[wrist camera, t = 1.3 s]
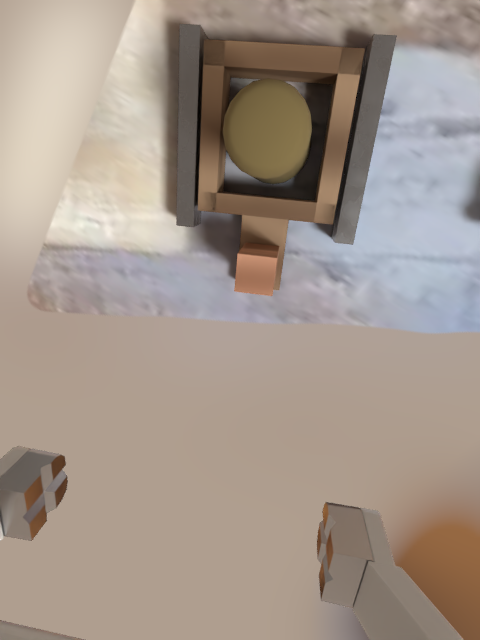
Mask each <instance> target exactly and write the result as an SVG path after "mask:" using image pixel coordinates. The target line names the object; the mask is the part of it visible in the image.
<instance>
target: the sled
mask: <svg viewBox="0 0 480 640" xmlns="http://www.w3.org/2000/svg"><path fill="white" fill-rule="evenodd" d="M364 51H365V48H349V47H332V46H314V45H297V44H279V43H262V42H245V41H227V40H210V39H204V59H203V86H202V112H201V138H200V164H199V191H198V210H199V211H209V212H218V213H228V214H237V215H242V225H241V237H240V248H239V252H238V254H237V266H236V278H235V290H234V291H236V292H244V293H252V294H260V295H268V296H272V294H273V290H279V288H280V280H281V273H282V265H283V258H284V251H285V243H286V236H287V228H288V221H289V220H295V221H304V222H314V223H324V224H333V221H334V215H335V210H336V204H337V199H338V193H339V188H340V182H341V177H342V172H343V166H344V161H345V155H346V150H347V144H348V139H349V133H350V128H351V122H352V117H353V111H354V106H355V100H356V95H357V89H358V84H359V79H360V73H361V68H362V62H363V57H364ZM231 77H232V78H247V79H261V80H262V79H266V78H270V79H277V80H282V81H291V82H306V83H321V84H333V89H332V95H331V102H330V108H329V114H328V121H327V127H326V133H325V139H324V146H323V152H322V158H321V164H320V171H319V177H318V183H317V190H316V196H315V201H314V200H304V199H294V198H283V197H273V196H263V195H253V194H243V193H233V192H223V190H224V175H225V159H226V148H225V143H224V136H223V126H224V117H225V114H226V112H227V110H228V107H229V96H230V81H231Z"/></svg>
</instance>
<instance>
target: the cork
mask: <svg viewBox="0 0 480 640" xmlns="http://www.w3.org/2000/svg"><path fill="white" fill-rule="evenodd" d="M311 132H312V124H311V114H310V111H309V108H308V106H307V103H306V101H305V99H304V98H303V96H302V95H301V94H300V93H299V92H298V91H297V89H296V88H295V87H293V86H291V85H290V84H288V83H286V82H284V81H282V80H277V79H270V78H266V79H262V80H258V81H253V82H252V83H250V84H249V85H247V86H245V87H244V88H242V89H241V90H240V91H239V92H238V93H237V95H236V96H235V97H234V98H233V100H232V101H231V102H230V105H229V107H228V110H227V112H226V114H225V117H224V126H223V136H224V143H225V148H226V150H227V152H228V154H229V156H230V158H231V160H232V161H233V162H234V163H235V165H236V166H237V167H238V168H239V169H240V170H241V171H243V172H245V173H247V174H248V175H250V176H252V177H254V178H255V179H257V180H259V181H261V182H263V183H269V184H277V183H283V182H286V181H287V180H289V179H291V178H293V177H295V176H296V175H297V174H298V173H299V172H300V170H301V169H302V168H303V167H304V165H305V163H306V161H307V159H308V157H309V153H310V148H311Z"/></svg>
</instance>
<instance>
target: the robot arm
mask: <svg viewBox="0 0 480 640" xmlns="http://www.w3.org/2000/svg"><path fill="white" fill-rule="evenodd" d="M65 465H66V462H65V456H63V455H60V454H55V453H51V452H46V451H41V450H36V449H30V448H25V447H21V446H17V447H14V448H12V449H11V450H10V451H9V452H8V453H7V454H6V455H4V456H3V457H2V458H1V459H0V540H1V539H3V538H4V536H6V537H12V538H18V539H23V540H29V541H32V540H33V539H34V537H35V536H36V535H37V533H38V532H39V530H40V529H41V528H42V527H43V525H44V524H45V523H46V521H47V513H48V512H50V511H52V510H54V509H55V508H57V506H58V505H59V504H60V502H61V500H62V499H63V497H64V494H65V492H66V490H67V483H68V480H67V475H66V474H65V472H64V471H63V470H62V469H63V468H64V466H65ZM322 513H323V521H322V522H320V524H319V529H318V536H317V557H318V560H319V562H320V563H321V568H320V572H319V583H320V595H321V601H325V602H329V603H333V604H338V605H342V606H346V607H350V608H353V611H354V613H355V615H356V616H357V618H358V620H359V622H360V624H361V625H362V627H363V629H364V631H365V632H366V634H367V636H368V638H369V639H370V640H464V639H463V638H462V637H461V636H460V635H459V634H458V633H457V631H456V630H455V629H454V628H453V627H452V626H451V625H450V623H449V622H448V621H447V620H446V619H445V618H444V616H443V615H442V614H441V613H440V612H439V611H438V609H437V608H436V607H435V606H434V605H433V604H432V603H431V601H430V600H429V599H428V598H427V597H426V596H425V594H424V593H423V592H422V591H421V590H420V589H419V587H418V586H417V585H416V584H415V583H414V582H413V581H412V580H411V578H410V577H409V576H408V575H407V574H406V573H405V571H404V570H403V569H402V568H401V567H397V566H395V563H394V559H393V556H392V552H391V549H390V545H389V542H388V539H387V535H386V532H385V528H384V525H383V521H382V518H381V515H380V513H379V512H378V511H376V510H370V509H365V508H358V507H353V506H347V505H341V504H335V503H329V502H325V504H324V507H323V511H322ZM0 640H84V639H80V638H76V637H71V636H67V635H63V634H58V633H54V632H49V631H45V630H41V629H36V628H32V627H28V626H23V625H19V624H14V623H11V622H6V621H2V620H0Z"/></svg>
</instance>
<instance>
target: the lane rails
mask: <svg viewBox="0 0 480 640" xmlns="http://www.w3.org/2000/svg"><path fill="white" fill-rule="evenodd" d="M396 37H397V36H395V35H377V34H374V35H373V37H372V39H371V40H370V42H369V44H368V46H367V48H366V53H365V59H364V64H363V70H362V75H361V81H360V86H359V91H358V97H357V102H356V108H355V113H354V119H353V124H352V129H351V135H350V140H349V146H348V151H347V157H346V162H345V167H344V173H343V178H342V184H341V189H340V195H339V200H338V205H337V211H336V216H335V222H334V227H333V233H332V239H333V241H334V242H335V243H343V244H352V245H353V243H354V238H355V233H356V228H357V223H358V219H359V214H360V209H361V204H362V200H363V195H364V190H365V185H366V180H367V176H368V171H369V166H370V161H371V156H372V152H373V147H374V142H375V137H376V132H377V128H378V123H379V118H380V113H381V109H382V104H383V99H384V94H385V89H386V85H387V80H388V75H389V70H390V65H391V61H392V56H393V51H394V46H395V42H396ZM204 39H208V37H207V35H206V34H205V32H204V30H203V29H202V27H201V25H190V24H180V36H179V99H178V161H177V224H176V225H178V226H187V227H195V226H197V225H199V224H200V221H201V211H199V210H198V191H199V164H200V138H201V112H202V86H203V59H204Z"/></svg>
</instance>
